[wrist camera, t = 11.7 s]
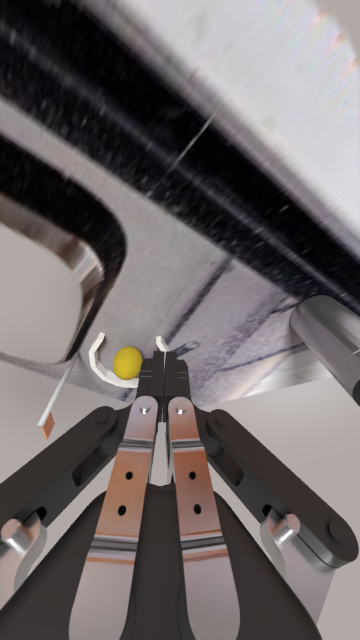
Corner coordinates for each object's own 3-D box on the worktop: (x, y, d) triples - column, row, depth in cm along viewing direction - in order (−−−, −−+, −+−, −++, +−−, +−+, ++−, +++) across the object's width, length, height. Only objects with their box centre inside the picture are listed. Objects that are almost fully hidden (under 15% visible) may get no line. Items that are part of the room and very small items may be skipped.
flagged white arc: (170, 336, 44) (173, 404, 30) (165, 381, 51) (165, 453, 38) (71, 330, 42) (27, 400, 28) (80, 378, 49) (48, 453, 35)
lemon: (133, 362, 47) (128, 392, 40) (112, 350, 45) (102, 379, 38) (149, 348, 45) (146, 376, 38) (127, 334, 43) (120, 362, 36)
